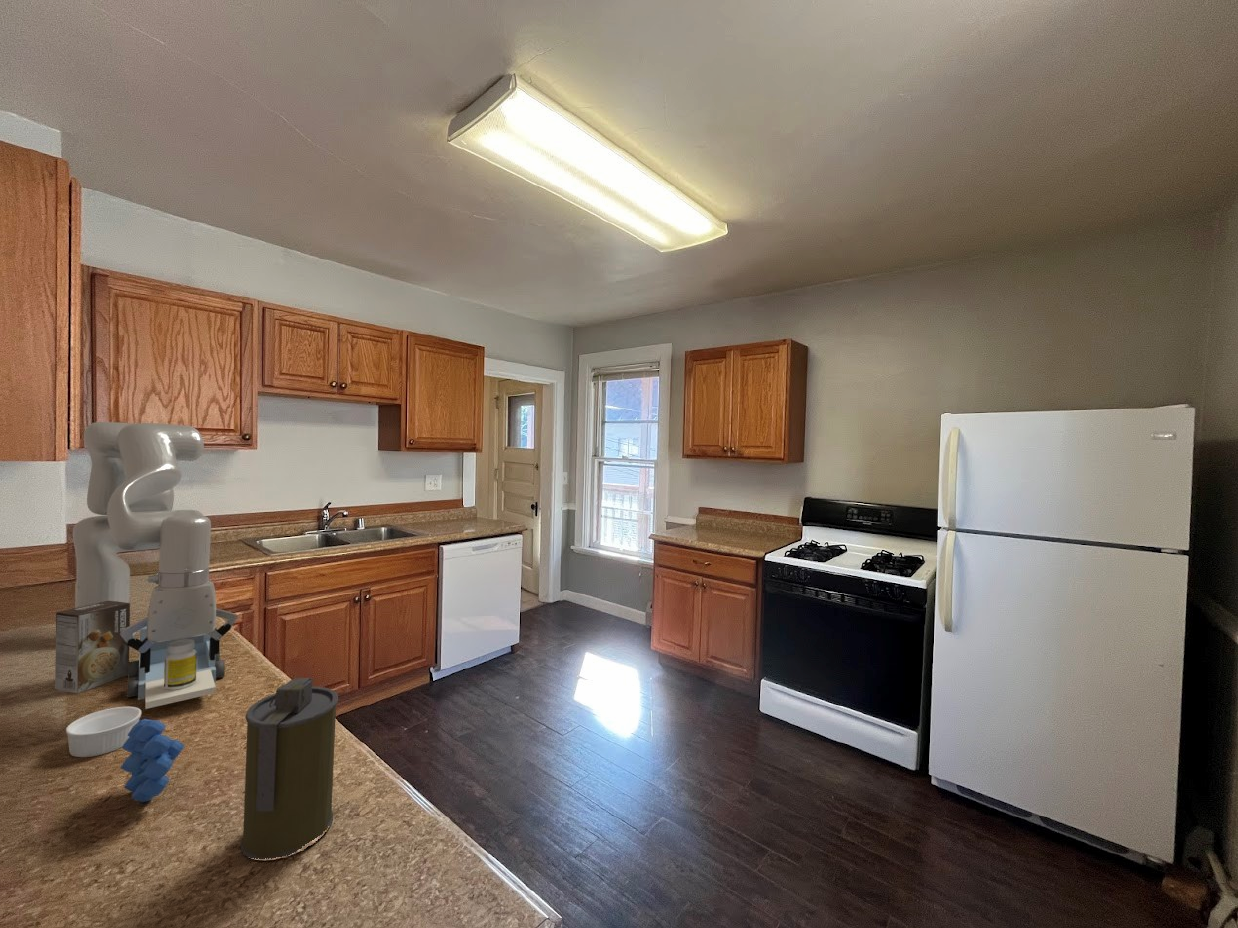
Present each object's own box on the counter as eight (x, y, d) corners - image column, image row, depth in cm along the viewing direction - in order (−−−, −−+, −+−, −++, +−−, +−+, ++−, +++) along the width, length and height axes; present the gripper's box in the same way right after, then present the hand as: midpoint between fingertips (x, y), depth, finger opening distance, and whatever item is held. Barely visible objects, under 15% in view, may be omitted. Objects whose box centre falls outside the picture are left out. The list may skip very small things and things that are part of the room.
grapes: (199, 799, 72) (202, 717, 72) (137, 827, 66) (140, 739, 66) (168, 770, 78) (171, 694, 78) (108, 794, 72) (111, 712, 72)
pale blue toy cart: (128, 674, 109) (130, 624, 109) (217, 657, 119) (219, 611, 119) (126, 702, 97) (128, 647, 97) (225, 681, 108) (226, 630, 108)
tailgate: (144, 681, 99) (144, 702, 91) (211, 668, 106) (216, 686, 98) (144, 688, 99) (143, 710, 91) (211, 674, 106) (216, 693, 98)
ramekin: (150, 738, 86) (151, 714, 86) (79, 766, 78) (80, 739, 78) (125, 725, 90) (126, 701, 90) (54, 750, 82) (55, 724, 82)
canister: (272, 804, 72) (277, 667, 72) (346, 803, 73) (352, 668, 72) (217, 866, 61) (224, 705, 61) (306, 864, 62) (312, 705, 62)
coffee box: (107, 671, 110) (109, 599, 110) (129, 675, 108) (132, 602, 108) (52, 690, 101) (55, 611, 101) (76, 694, 99) (79, 615, 99)
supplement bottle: (201, 682, 99) (202, 640, 99) (173, 692, 95) (174, 649, 95) (186, 677, 101) (187, 636, 101) (158, 687, 96) (159, 645, 96)
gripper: (121, 589, 89) (117, 683, 89) (241, 576, 101) (237, 660, 101) (122, 579, 94) (119, 668, 95) (236, 569, 106) (233, 648, 107)
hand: (180, 664), depth 98 cm, fingers open, 9 cm apart
